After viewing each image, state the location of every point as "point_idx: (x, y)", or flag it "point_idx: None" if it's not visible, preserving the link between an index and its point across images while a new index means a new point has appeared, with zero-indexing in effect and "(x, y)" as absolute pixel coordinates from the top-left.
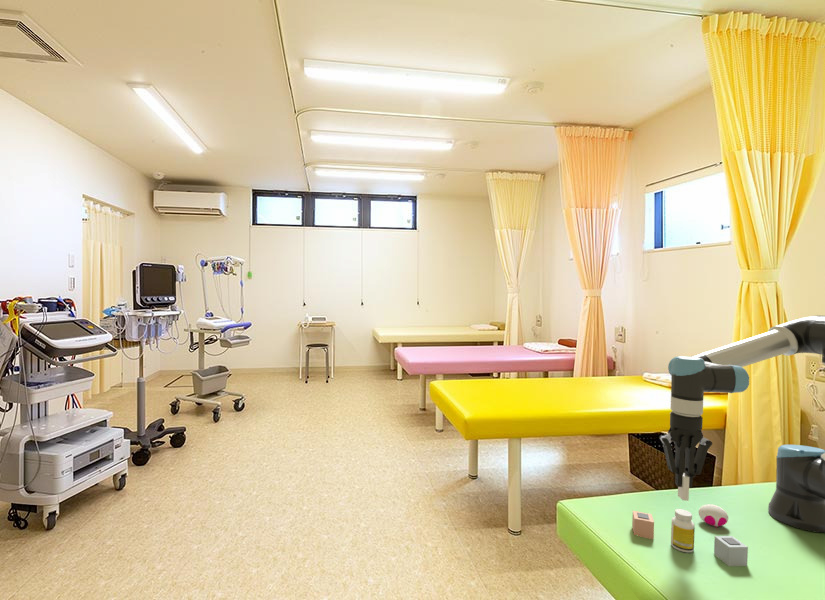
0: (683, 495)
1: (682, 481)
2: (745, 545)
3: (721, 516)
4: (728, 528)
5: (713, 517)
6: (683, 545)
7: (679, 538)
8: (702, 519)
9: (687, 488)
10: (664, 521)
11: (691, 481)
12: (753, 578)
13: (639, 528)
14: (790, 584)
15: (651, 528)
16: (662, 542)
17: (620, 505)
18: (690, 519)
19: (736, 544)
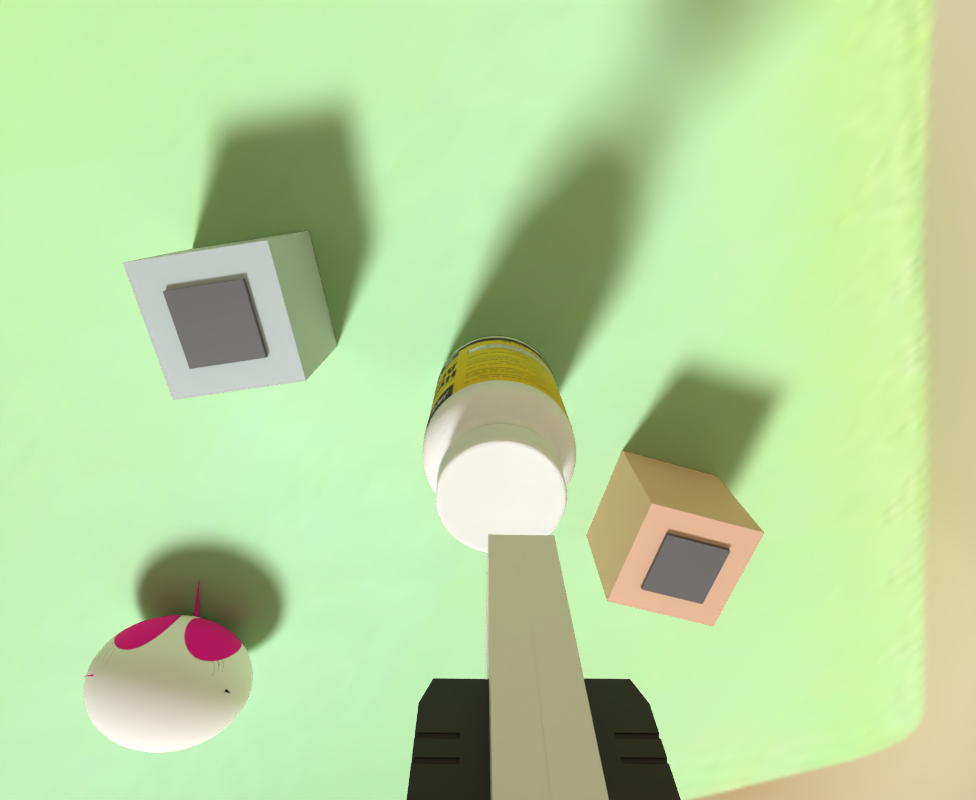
0: (555, 572)
1: (592, 759)
2: (131, 283)
3: (132, 654)
4: (129, 610)
5: (185, 647)
6: (520, 349)
7: (543, 372)
8: (247, 652)
9: (512, 647)
10: (459, 630)
11: (426, 775)
12: (216, 111)
13: (710, 492)
14: (9, 75)
15: (651, 484)
16: (586, 426)
17: None
18: (469, 433)
19: (194, 286)
